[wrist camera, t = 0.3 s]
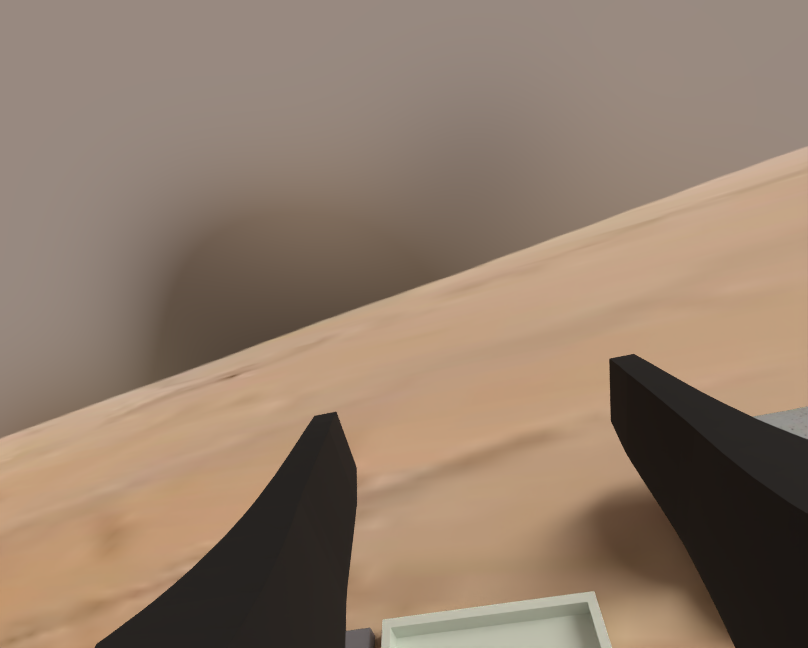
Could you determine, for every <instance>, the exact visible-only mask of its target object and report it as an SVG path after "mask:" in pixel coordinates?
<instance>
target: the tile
mask: <svg viewBox="0 0 808 648" xmlns="http://www.w3.org/2000/svg"><path fill="white" fill-rule="evenodd" d="M345 648H375V635H374V633H373V632H372V630H371V629H370V628H365V629H357V630H350V631H346V642H345Z"/></svg>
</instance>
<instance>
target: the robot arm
mask: <svg viewBox="0 0 808 648" xmlns="http://www.w3.org/2000/svg"><path fill="white" fill-rule="evenodd" d="M609 364H610V406H611V422H612V424H613V426H614V429H615V431H616V433H617V435H618V437H619V440H620V442H621V444H622V446H623V448H624V450H625V452H626V454H627V456H628V457H629V459H630V460H631V462H632V464H633V465H634V467H635V468H636V470H637V471H638V473H639V475H640V476H641V478H642V479H643V481H644V482H645V484H646V485H647V487H648V489H649V490H650V492H651V493H652V495H653V496H654V498H655V499H656V501H657V502H658V504H659V506H660V507H661V509H662V510H663V512H664V513H665V515H666V516H667V518H668V519H669V521H670V522H671V524H672V526H673V527H674V529H675V530H676V532H677V534H678V535H679V537H680V539H681V540H682V542H683V544H684V545H685V547H686V549H687V551H688V553H689V555H690V557H691V559H692V561H693V563H694V565H695V566H696V568H697V570H698V572H699V574H700V576H701V578H702V580H703V582H704V584H705V586H706V588H707V590H708V592H709V594H710V596H711V598H712V600H713V602H714V604H715V606H716V608H717V610H718V612H719V614H720V616H721V618H722V620H723V622H724V624H725V627H726V629H727V631H728V633H729V635H730V637H731V639H732V641H733V644H734V646H735V648H808V439H806V438H803V437H800V436H798V435H795V434H793V433H790V432H788V431H785V430H783V429H780V428H778V427H775V426H773V425H770V424H768V423H765V422H763V421H761V420H758V419H756V418H754V417H752V416H749V415H747V414H745V413H743V412H741V411H739V410H737V409H735V408H733V407H730V406H728V405H726V404H724V403H722V402H720V401H718V400H716V399H714V398H712V397H710V396H708V395H707V394H705V393H703V392H701V391H699V390H697V389H695V388H693V387H692V386H690V385H688V384H686V383H684V382H683V381H681V380H679V379H677V378H675V377H674V376H672V375H670V374H668V373H667V372H665V371H663V370H661V369H660V368H658V367H656V366H654V365H653V364H651V363H649V362H647V361H646V360H644V359H642V358H640V357H638V356H637V355H635V354H631V355H626V356H621V357H616V358H611V359H609ZM356 507H357V468H356V465H355V462H354V459H353V456H352V454H351V451H350V448H349V445H348V443H347V440H346V437H345V434H344V431H343V429H342V426H341V423H340V420H339V418H338V415H337V412H332V413H327V414H322V415H317V416H314V417H313V419H312V420H311V422H310V423H309V425H308V426H307V428H306V429H305V431H304V432H303V434H302V435H301V437H300V439H299V440H298V442H297V443H296V445H295V446H294V448H293V449H292V451H291V452H290V454H289V455H288V457H287V458H286V460H285V461H284V463H283V464H282V466H281V467H280V468H279V470H278V471H277V473H276V474H275V476H274V477H273V478H272V480H271V481H270V482H269V484H268V485H267V486H266V488H265V489H264V490H263V492H262V493H261V494H260V496H259V497H258V498H257V500H256V501H255V502H254V503H253V505H252V506H251V507H250V508H249V509H248V511H247V512H246V513H245V514H244V515H243V517H242V518H241V519H240V520H239V521H238V522H237V523H236V524H235V525H234V527H233V528H232V529H231V530H230V531H229V532H228V533H227V534H226V535H225V536H224V537H223V538H222V539H221V540H220V541H219V542H218V543H217V544H216V545H215V546H214V547H213V548H212V549H211V550H210V551H209V552H208V553H207V554H206V555H205V556H204V557H203V558H202V559H201V560H200V561H199V562H198V563H197V564H196V565H195V566H194V567H193V568H192V569H191V570H190V571H188V572H187V573H186V574H185V575H184V576H183V577H182V578H181V579H179V580H178V581H177V582H176V583H175V584H174V585H173V586H171V587H170V588H169V589H168V590H167V591H165V592H164V593H163V594H162V595H161V596H159V597H158V598H157V599H156V600H155V601H153V602H152V603H151V604H150V605H148V606H147V607H146V608H145V609H143V610H142V611H141V612H139V613H138V614H137V615H135V616H134V617H133V618H131V619H130V620H129V621H127V622H126V623H125V624H123V625H122V626H121V627H119V628H118V629H117V630H115V631H114V632H113V633H111V634H110V635H109V636H107V637H106V638H104V639H103V640H102V641H100V642H99V643H97V644H96V646H95V648H345V642H346V599H347V586H348V577H349V568H350V560H351V551H352V543H353V534H354V525H355V516H356Z"/></svg>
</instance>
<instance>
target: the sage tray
mask: <svg viewBox="0 0 808 648" xmlns="http://www.w3.org/2000/svg"><path fill="white" fill-rule="evenodd" d="M381 648H612V646H611V643H610V640H609V637H608V633H607V630H606V627H605V624H604V621H603V618H602V614H601V611H600V608H599V605H598V602H597V598H596V595H595V592H594V591H591V592H584V593H576V594H569V595H561V596H554V597H547V598H539V599H532V600H524V601H517V602H509V603H502V604H495V605H487V606H480V607H472V608H465V609H457V610H450V611H443V612H435V613H428V614H420V615H413V616H406V617H398V618H391V619H383V623H382V642H381Z"/></svg>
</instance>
